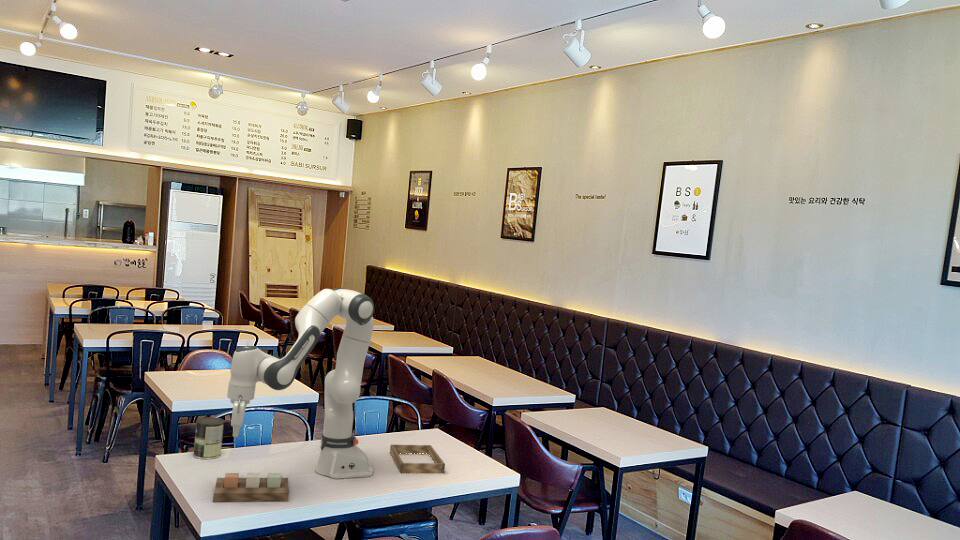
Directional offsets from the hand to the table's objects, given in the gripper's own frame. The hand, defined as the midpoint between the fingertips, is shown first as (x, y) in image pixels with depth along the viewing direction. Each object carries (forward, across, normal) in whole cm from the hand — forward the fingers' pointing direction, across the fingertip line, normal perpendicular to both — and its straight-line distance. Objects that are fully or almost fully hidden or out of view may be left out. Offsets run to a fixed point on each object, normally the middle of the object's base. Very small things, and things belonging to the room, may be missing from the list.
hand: (236, 432), depth 235 cm
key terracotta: (+18, -2, -1) cm, 18 cm away
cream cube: (+18, -2, -8) cm, 19 cm away
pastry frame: (+18, +33, -72) cm, 81 cm away
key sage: (+17, -2, -15) cm, 23 cm away
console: (+20, -2, -8) cm, 22 cm away
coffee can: (+21, +40, +11) cm, 47 cm away
